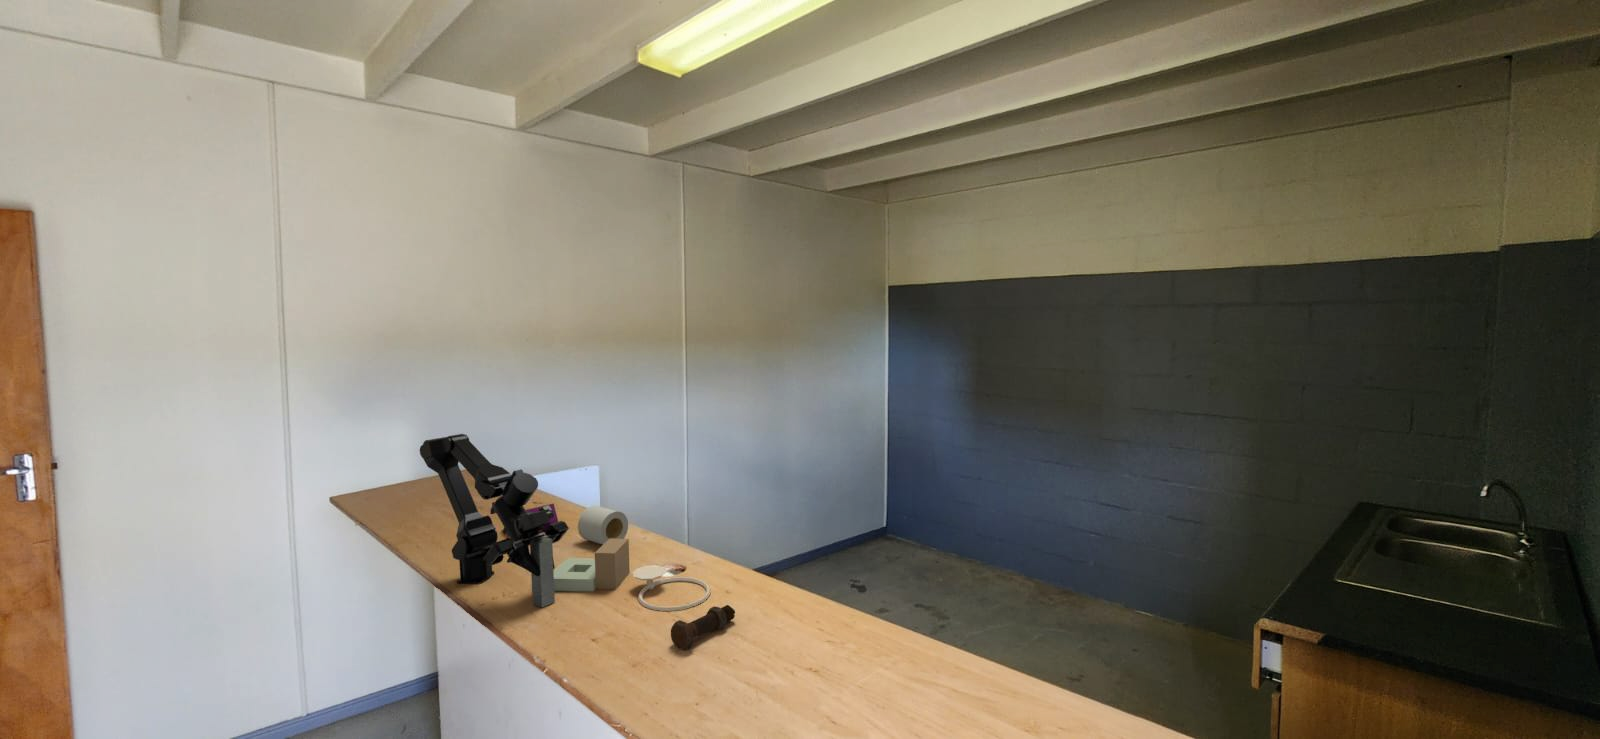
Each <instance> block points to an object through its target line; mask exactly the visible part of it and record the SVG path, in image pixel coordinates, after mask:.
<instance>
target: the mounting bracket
mask: <svg viewBox="0 0 1600 739" xmlns="http://www.w3.org/2000/svg"><path fill="white" fill-rule="evenodd" d="M548 505H549V506H550V508H551V509H552V510H553V513H554V517H553V518H551V519H549V521H550V523H546V524H543V525H542V526H543V528H542V529H541V530H540V531H541V533H542V532H544V531H545V530H546V529H547V527H548V526H549V525H550V524H553V523H556V522H559V519H558V516H557V515H558V514H557V511H556V507H555V503H548V504H546V505H545V504H544V505H541V506H537V507H532V508H527V509H525V510H526V512H530V511H531V512H532V513H536V512H539V509H540V508H542V507H544V506H548Z"/></svg>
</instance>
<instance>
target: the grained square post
mask: <svg viewBox="0 0 1600 739" xmlns="http://www.w3.org/2000/svg"><path fill="white" fill-rule="evenodd" d="M553 547H554V546H553V544H552V539H550V538H547V537H543V536H542V537H540V538H537V539H534V540H531V541H530V546H529V553H530V555H531V556H532V558H533V560H534V561H535V563H536V565H537V567H538V569H539V571H540V573H541V574H540V575H539V576H536V575H534V574H532V573H531V572H530V575H531V577H530V578H531V594H532V595H531V597H532V601H531V602H532V605H533V606H536V607H538V608H539V607H540V608H545V607H546V606H549V605H552V604H553V603H555V602H556V600H555V599H556V598H555V591H554V570H553V560H554V552H553V550H554V549H553Z"/></svg>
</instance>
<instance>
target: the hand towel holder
mask: <svg viewBox="0 0 1600 739" xmlns="http://www.w3.org/2000/svg"><path fill="white" fill-rule="evenodd" d="M666 572H667V569H666V567H664V566H662V565H657V564H656V565H655V564H652V565H644V566H640V567H637V568H636V569H634V570H633V571H632V575H633V578H635V579H636V580H640V581H646V584H645V586H644V587H642V589H641V590H640V591H639V594H638V597H637V599H638V601H639V602H638V603H640V604H641V606H643V607H644V608H646V607H647V609H648V610H652V609H653V610H654V611H657V610H659V611H658V612H678V611H683V610H682V609H684V610H688V609H691V608H694V607H693V606H695V607H697V606H699V605H701V604H703V603H704V602H705V601H706V599H707V600H708V598H709V597H710V595H711V588H710V587H709V585H708V583H706V582H705V581H703V580H701V579H699V578H694V577H687V576H678V577H677V576H676V577H675V576H674V577H668V578H662V579H660V578H661V577H663V576H664V575H665V574H666ZM657 579H658V580H657ZM659 579H660V580H659ZM654 580H655V581H654ZM678 582H679V583H680V582H682V583H684V582H685V583H692V582H693V583H694V584H697V585H699V584H700V585H699V586H702V587H704V589H705V590H706V591H705V595H704V596H703V597H701V598H700V599H697V600H696V601H694V602H691V603H687V604H684V605H677V606H659V605H654V604H650V603H648V602H647V601H645V600H644V599H643V597H644V594H645V592H647V591H649V590H648V589H650V590H653V589H654V588H655V587H657V586H659V585H664V584H668V583H678ZM702 602H703V603H702ZM700 603H701V604H700ZM698 604H699V605H698ZM696 605H697V606H696ZM690 607H691V608H690ZM687 608H688V609H687ZM677 610H678V611H677Z"/></svg>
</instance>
